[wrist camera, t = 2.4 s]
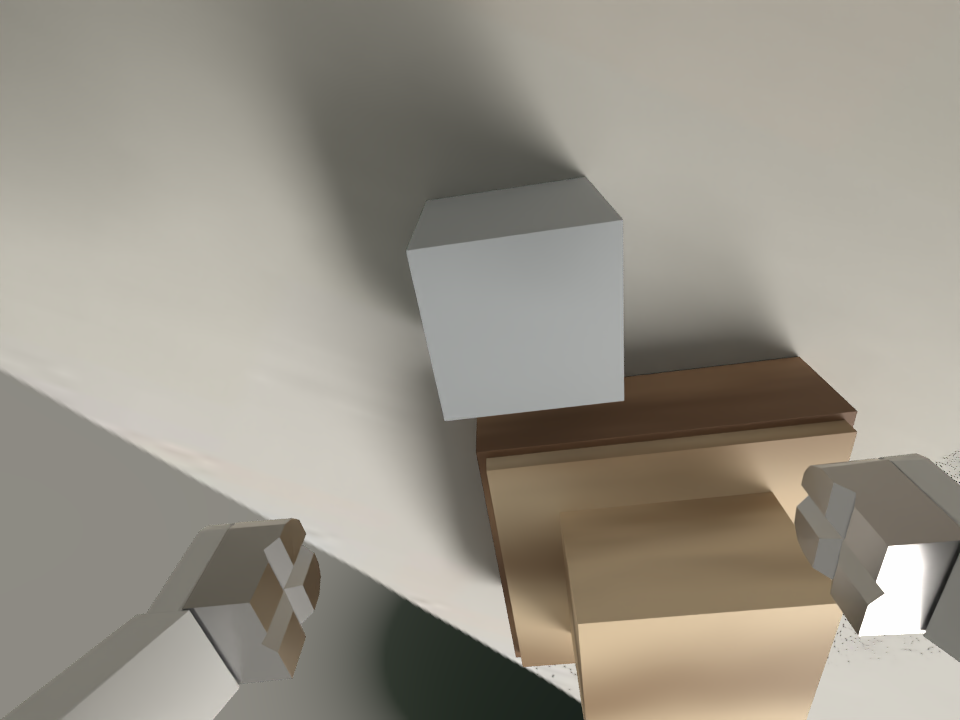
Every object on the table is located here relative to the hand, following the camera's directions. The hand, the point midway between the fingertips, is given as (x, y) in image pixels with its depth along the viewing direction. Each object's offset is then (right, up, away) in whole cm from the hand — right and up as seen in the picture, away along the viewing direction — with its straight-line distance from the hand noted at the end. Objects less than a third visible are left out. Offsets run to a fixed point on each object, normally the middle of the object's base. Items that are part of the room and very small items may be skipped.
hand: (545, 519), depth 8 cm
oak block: (+6, -5, +11) cm, 13 cm away
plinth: (+6, -3, +14) cm, 15 cm away
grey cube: (0, +6, +9) cm, 11 cm away
